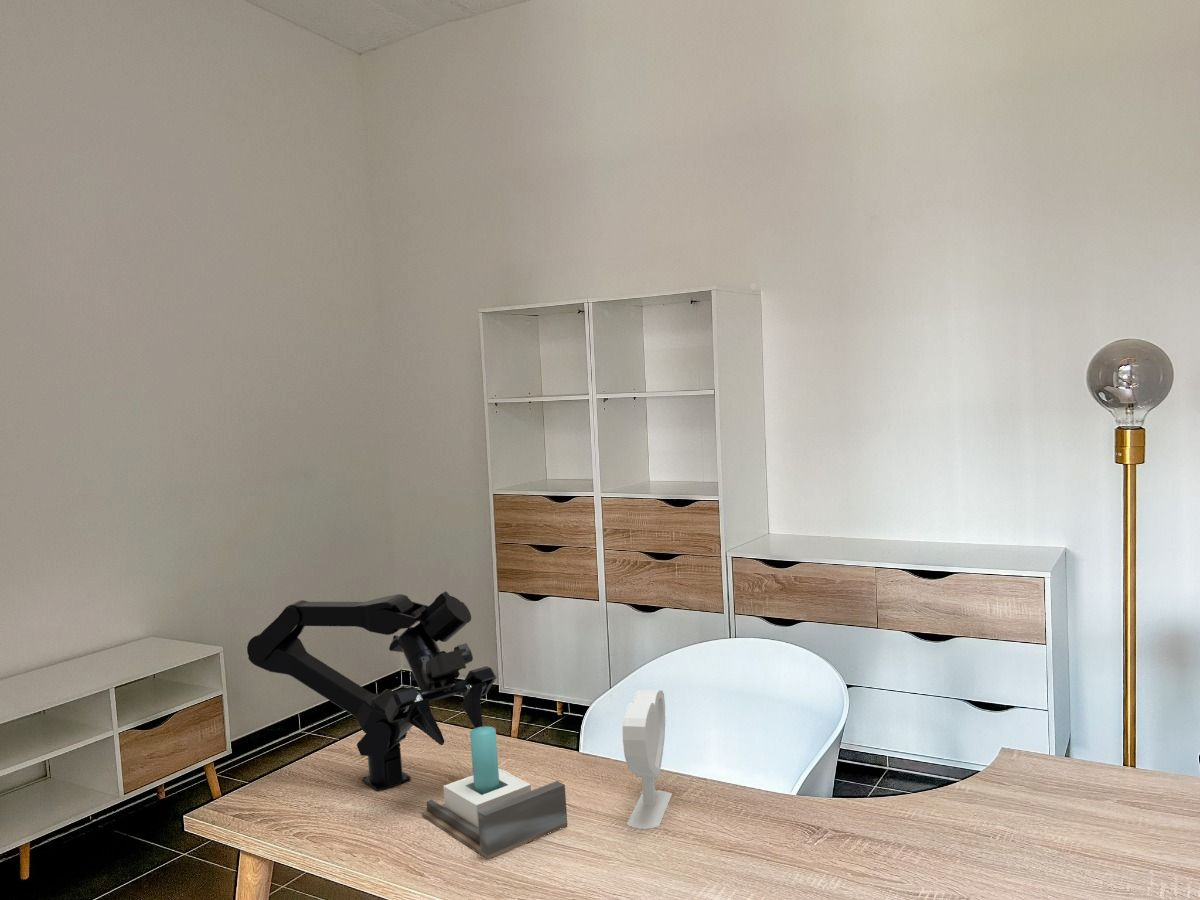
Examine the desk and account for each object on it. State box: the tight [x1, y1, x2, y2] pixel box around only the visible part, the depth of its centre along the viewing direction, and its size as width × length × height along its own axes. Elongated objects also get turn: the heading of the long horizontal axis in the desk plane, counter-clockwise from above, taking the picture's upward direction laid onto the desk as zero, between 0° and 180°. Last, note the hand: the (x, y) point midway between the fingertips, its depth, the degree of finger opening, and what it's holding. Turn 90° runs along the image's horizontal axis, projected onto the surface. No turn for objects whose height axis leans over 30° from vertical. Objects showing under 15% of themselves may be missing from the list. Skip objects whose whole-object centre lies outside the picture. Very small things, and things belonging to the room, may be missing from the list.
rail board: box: [421, 780, 568, 860], centre depth 151 cm, size 20×14×7 cm
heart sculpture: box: [621, 689, 673, 830], centre depth 152 cm, size 16×5×18 cm, turn 165°
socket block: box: [443, 767, 532, 829], centre depth 152 cm, size 10×10×5 cm
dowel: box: [469, 726, 500, 795], centre depth 152 cm, size 4×4×13 cm
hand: (462, 737), depth 157 cm, fingers open, 7 cm apart
